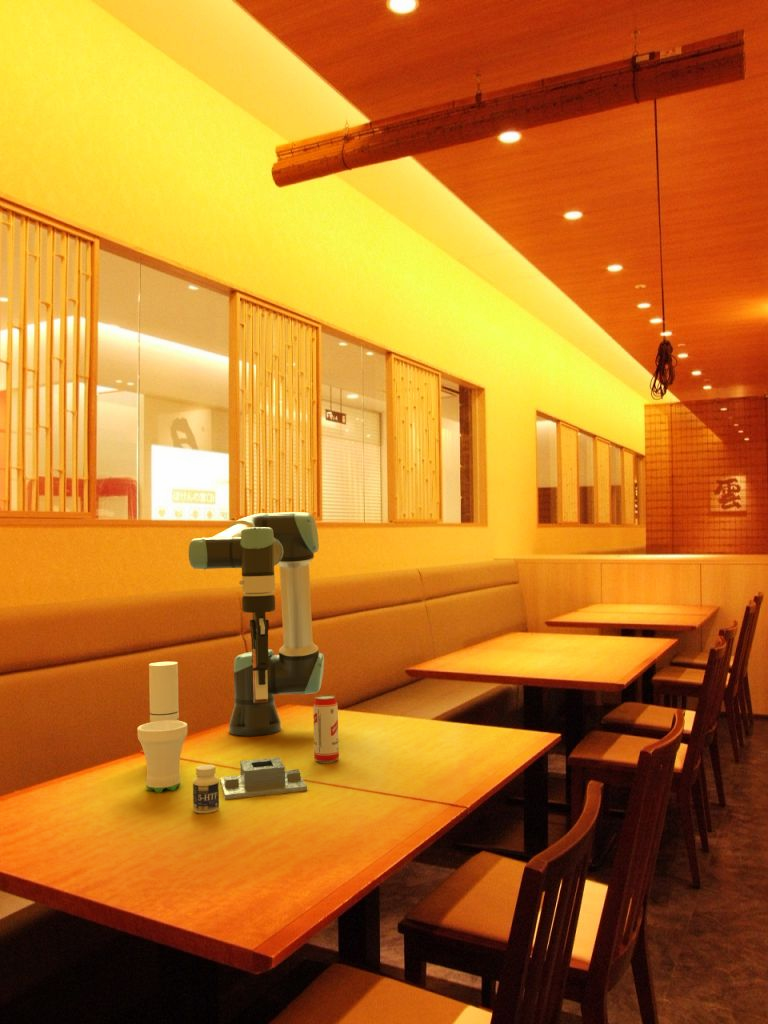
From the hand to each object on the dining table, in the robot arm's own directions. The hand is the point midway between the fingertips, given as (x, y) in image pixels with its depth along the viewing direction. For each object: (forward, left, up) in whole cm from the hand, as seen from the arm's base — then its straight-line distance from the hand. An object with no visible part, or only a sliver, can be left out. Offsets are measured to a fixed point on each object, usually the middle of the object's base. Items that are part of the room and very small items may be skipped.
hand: (260, 697), depth 191 cm
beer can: (-17, +18, -20) cm, 32 cm away
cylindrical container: (-31, -21, -20) cm, 43 cm away
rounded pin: (0, 0, -1) cm, 1 cm away
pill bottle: (+13, -13, -20) cm, 28 cm away
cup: (-7, -22, -20) cm, 31 cm away
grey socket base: (0, 0, -20) cm, 20 cm away
